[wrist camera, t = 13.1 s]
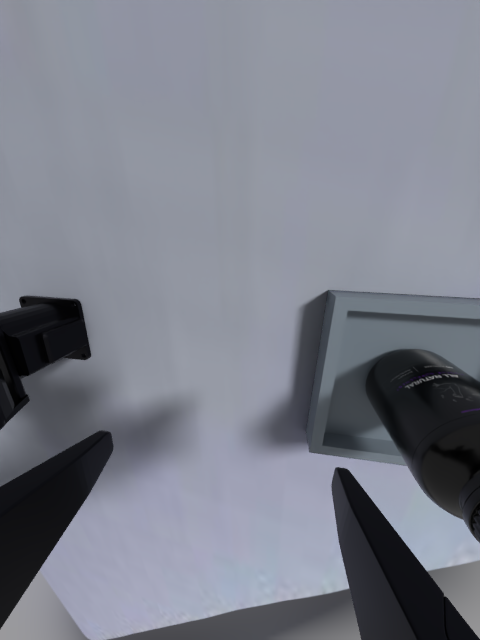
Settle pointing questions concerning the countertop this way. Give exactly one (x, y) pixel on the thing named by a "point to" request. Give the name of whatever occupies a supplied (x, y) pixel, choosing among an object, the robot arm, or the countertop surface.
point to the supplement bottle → (433, 426)
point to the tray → (367, 349)
